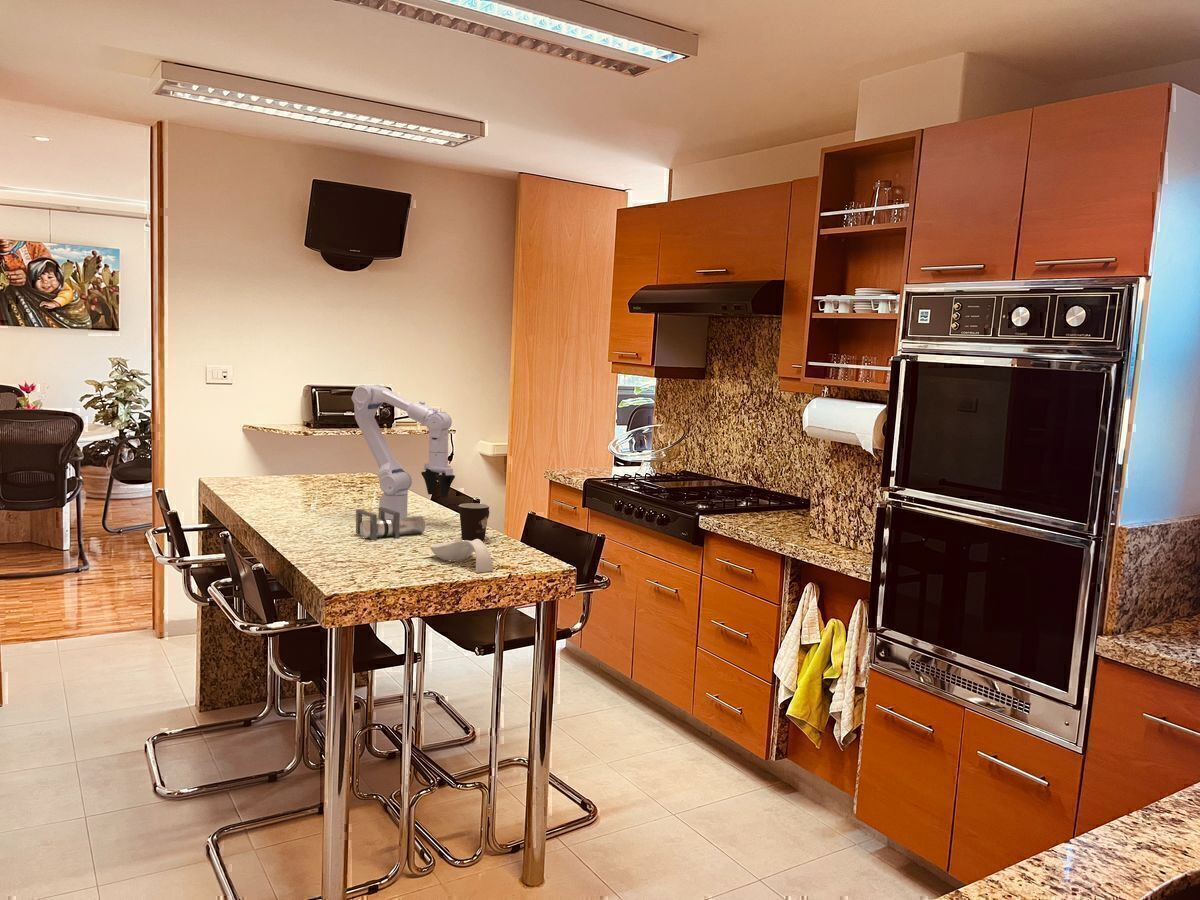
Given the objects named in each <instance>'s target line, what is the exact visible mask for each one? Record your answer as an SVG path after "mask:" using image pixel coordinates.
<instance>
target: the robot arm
mask: <svg viewBox="0 0 1200 900" xmlns="http://www.w3.org/2000/svg"><path fill="white" fill-rule="evenodd" d="M350 398H351V401H352V403H353V406H354V409H353V410H354V419H355V421H356V423H357V425H358V427H359V430H360V431H361V432H360V433H361V434H362V436H363V438H364V440H365V442H366V444H367V445H368V447H369V450H370V452H371V453H372V456H373V458H374V460H375V462H376V464H377V466H378V468H379V470H378V473H377V477H378V479H379V488H380V490H381V491H382V492H383V494H382V495H380V497H379V499H378V500H379V501H378V502H379V503H378V504H379V505H378V508H379V507H383V508H386V509H389V510H393V511H396V512H399V513H400V518H405V517H408V493H409V489H410V488H411V487H412V484H413V480H412V479H413V478H412V477H411V474H409V472H407V471H406V470H405V469H404V467H403V465H402V464H401V463H399V462H398V461H397V460H396V458H395V456H394V454H393V453H392V450H391V448H390V447H389V445H388V442H387V440H386V438H385V436H384V434H383V432H382V430H381V428H380V425H379V424H378V422H377V419H376V418H375V416H376V413H377V411H378V410H379V408H380V407H381V406H382V405H383V404H384V403H386V404H388V405H391V406H392V407H395V408H397V409H400V410H401V411H404V412H406V413H407V417H408V418H409V419H411V420H413V421H415V422H417V423H418V424H420V425H423V426H425V427H426V428H427V430H428V435H429V436H428V443H429V444H428V463H424V464H423V470H424V471H421V475H422V477H423V480H424V483H425V485H426V487H425V488H426V492H427V495H435V494H436V491H437V483H438V489H439V492H438V493H439V498H440V499H445V498H446V499H447V498H448V495H449V492H450V489H451V486H452V483H453V482H454V479H455V478H456V475H455V474H454V470H453V469H454V468H452V467H451V465H449V464H448V463H449V462H448V460H449V459H448V458H449V430H450V429H451V427H452V423H453V421H452V417H451V415H450V414H448V413H447V412H446V411H441V412H439V410H438V409H437V408H434V407H433V408H432V407H430V406H428V405H426V402H425V401H423V400H420V401H418V400H416V401H414V402H412V401H410V400H408V399H407V398H405V397H403V396H401V395H400V394H397V393H395V392H394V391H393V390H391V389H389V388H388V387H384V386H382V385H380V384H374V385H373V384H372V385H371V384H370V385H367V384H366V385H365V384H359V385H358V386H357V385H356V387H355V389H354V390H353V393H352V396H351V397H350ZM385 519H393V515H391V514H388V513H386V512H385ZM377 520H379V517H377Z"/></svg>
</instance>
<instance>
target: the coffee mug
mask: <svg viewBox="0 0 1200 900" xmlns="http://www.w3.org/2000/svg"><path fill="white" fill-rule="evenodd" d="M458 510H459V511H458V512H459V521H460V522H459V523H460V533H461V541H462V540H468V541H473V540H475V539H479V540H481V541H483V540H484V541H485V539H486V532H487V527H488V526H487V525H488V519H489V516H490V505H488V504H486V503H474V502H471V503H469V502H467V503H461V504H459V505H458ZM484 541H483V542H484Z"/></svg>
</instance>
